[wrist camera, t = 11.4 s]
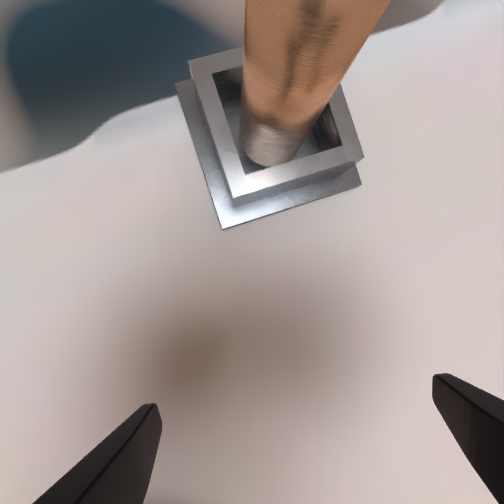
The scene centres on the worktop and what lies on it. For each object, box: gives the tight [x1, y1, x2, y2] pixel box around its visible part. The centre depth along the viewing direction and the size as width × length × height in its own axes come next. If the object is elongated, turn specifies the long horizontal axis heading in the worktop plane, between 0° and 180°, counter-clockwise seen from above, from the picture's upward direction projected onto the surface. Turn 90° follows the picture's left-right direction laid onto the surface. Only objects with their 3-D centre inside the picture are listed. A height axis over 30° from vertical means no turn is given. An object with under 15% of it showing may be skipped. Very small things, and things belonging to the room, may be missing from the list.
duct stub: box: [175, 47, 364, 230], centre depth 19 cm, size 12×12×4 cm
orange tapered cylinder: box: [239, 0, 391, 167], centre depth 14 cm, size 5×5×13 cm
